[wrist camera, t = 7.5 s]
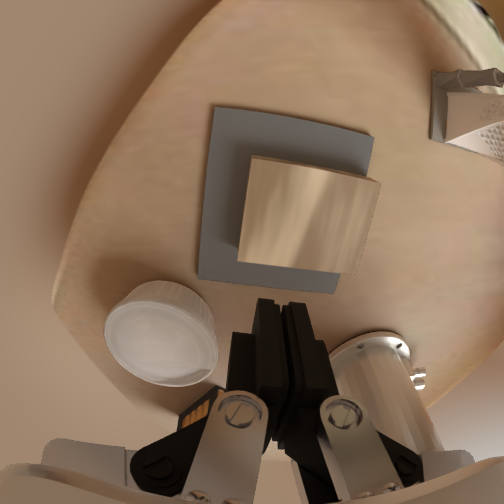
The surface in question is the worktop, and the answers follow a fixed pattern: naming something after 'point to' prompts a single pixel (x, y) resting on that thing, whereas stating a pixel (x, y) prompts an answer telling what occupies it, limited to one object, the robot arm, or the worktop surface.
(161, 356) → the ramekin
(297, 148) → the mat
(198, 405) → the ammunition clip
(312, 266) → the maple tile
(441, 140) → the skyscraper
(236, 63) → the worktop surface
